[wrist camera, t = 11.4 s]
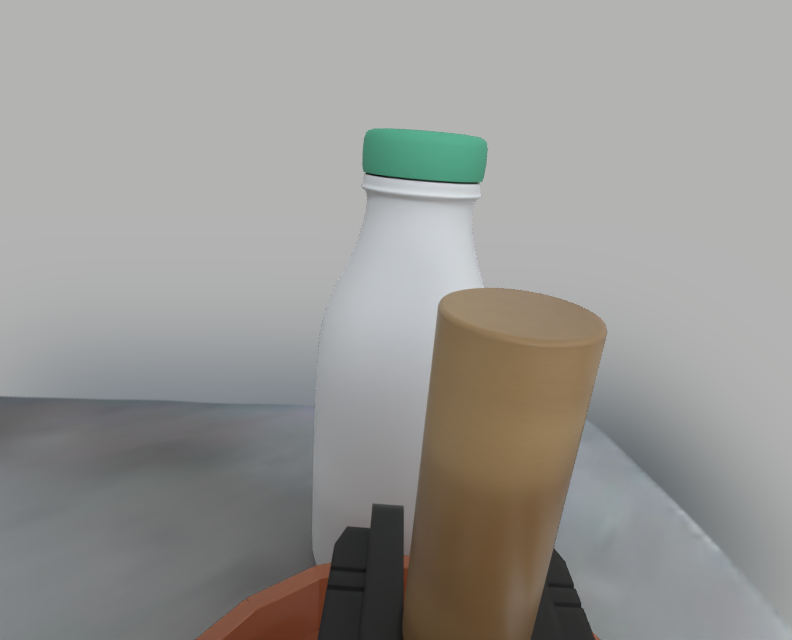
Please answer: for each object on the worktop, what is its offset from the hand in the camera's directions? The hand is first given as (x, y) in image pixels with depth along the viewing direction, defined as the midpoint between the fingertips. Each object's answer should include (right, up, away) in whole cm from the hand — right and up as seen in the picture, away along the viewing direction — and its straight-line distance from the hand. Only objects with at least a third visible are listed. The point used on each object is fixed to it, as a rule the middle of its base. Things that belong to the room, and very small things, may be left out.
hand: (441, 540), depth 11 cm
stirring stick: (-1, -11, +1) cm, 11 cm away
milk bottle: (-1, -7, +13) cm, 15 cm away
